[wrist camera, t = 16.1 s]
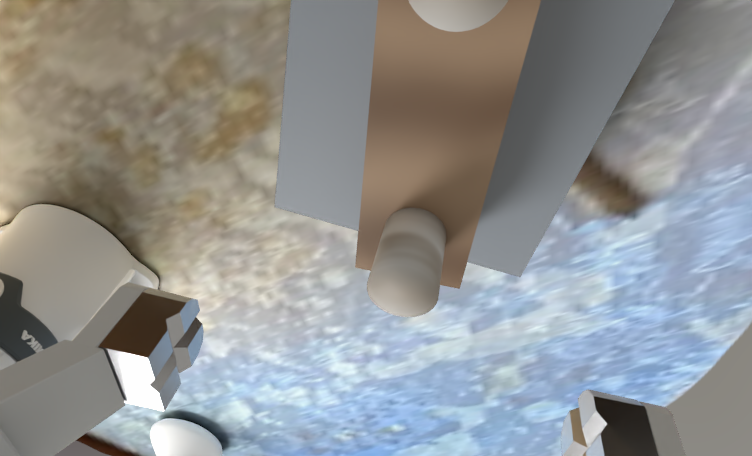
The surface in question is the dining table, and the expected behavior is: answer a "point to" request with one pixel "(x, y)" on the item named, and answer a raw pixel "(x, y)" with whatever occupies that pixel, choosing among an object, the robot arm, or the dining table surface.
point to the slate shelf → (522, 131)
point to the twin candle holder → (434, 139)
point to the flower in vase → (183, 439)
